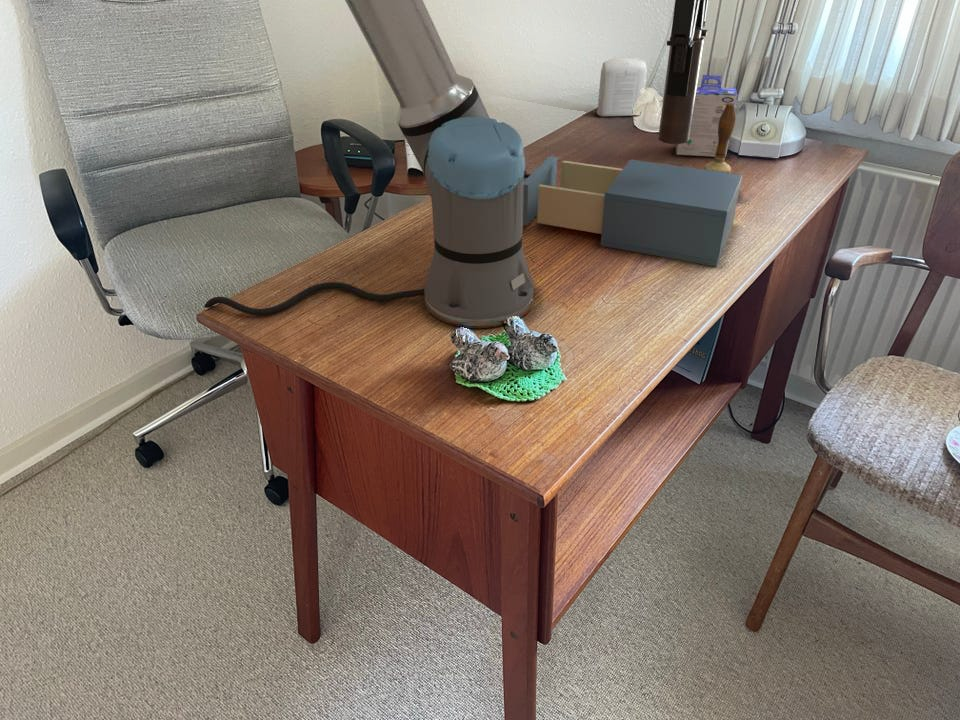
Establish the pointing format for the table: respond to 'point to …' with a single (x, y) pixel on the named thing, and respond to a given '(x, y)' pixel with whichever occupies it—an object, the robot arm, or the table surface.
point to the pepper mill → (681, 100)
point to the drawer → (567, 195)
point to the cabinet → (670, 211)
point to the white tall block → (620, 86)
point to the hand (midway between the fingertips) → (680, 89)
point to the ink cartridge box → (707, 118)
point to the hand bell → (723, 139)
